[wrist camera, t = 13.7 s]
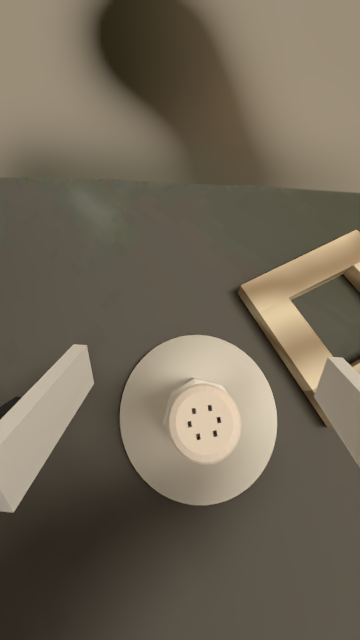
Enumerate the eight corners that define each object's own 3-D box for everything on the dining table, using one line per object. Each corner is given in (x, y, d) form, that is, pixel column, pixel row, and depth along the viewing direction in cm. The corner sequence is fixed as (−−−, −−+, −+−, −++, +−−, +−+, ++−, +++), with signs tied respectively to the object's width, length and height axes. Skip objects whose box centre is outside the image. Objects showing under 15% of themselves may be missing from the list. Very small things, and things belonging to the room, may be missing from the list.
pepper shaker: (221, 372, 20) (256, 339, 9) (236, 441, 18) (301, 498, 7) (160, 383, 19) (126, 361, 9) (168, 453, 18) (137, 526, 7)
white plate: (101, 375, 21) (98, 374, 20) (223, 315, 22) (224, 312, 21) (160, 536, 16) (158, 543, 16) (306, 448, 18) (311, 450, 17)
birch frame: (237, 292, 23) (240, 285, 22) (346, 240, 25) (356, 229, 23) (327, 427, 18) (339, 429, 17) (454, 351, 20) (475, 346, 19)
